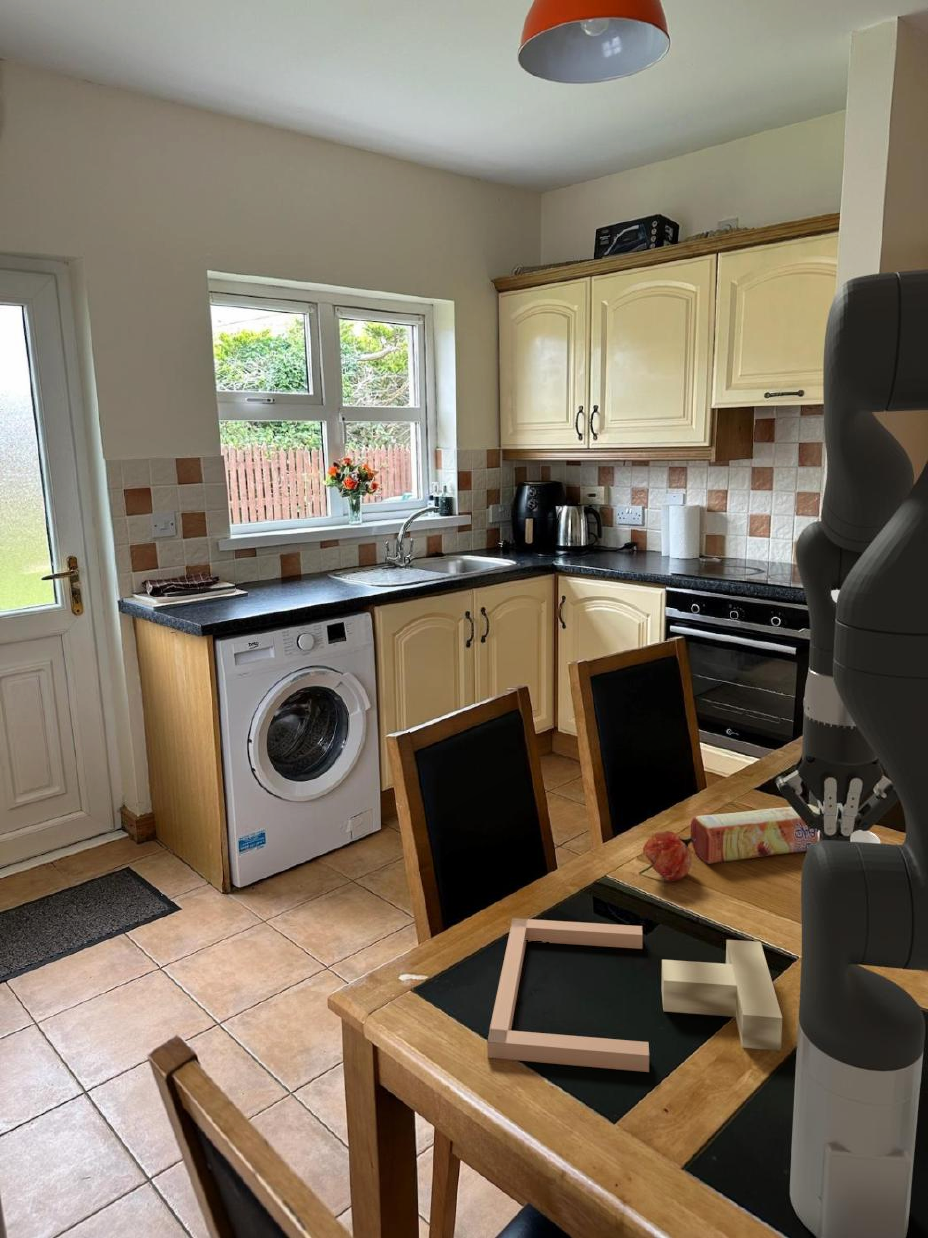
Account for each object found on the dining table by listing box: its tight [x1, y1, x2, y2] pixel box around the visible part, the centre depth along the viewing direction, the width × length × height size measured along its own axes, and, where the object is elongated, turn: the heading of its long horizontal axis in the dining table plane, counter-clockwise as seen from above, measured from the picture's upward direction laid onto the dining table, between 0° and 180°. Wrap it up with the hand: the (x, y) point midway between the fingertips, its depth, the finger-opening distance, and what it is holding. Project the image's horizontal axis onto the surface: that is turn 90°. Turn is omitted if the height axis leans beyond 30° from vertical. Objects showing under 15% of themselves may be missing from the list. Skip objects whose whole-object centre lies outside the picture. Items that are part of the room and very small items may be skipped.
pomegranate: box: [638, 830, 696, 883], centre depth 127 cm, size 7×7×10 cm
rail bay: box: [486, 917, 650, 1073], centre depth 102 cm, size 24×17×2 cm
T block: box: [661, 939, 783, 1052], centre depth 99 cm, size 12×14×4 cm
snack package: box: [690, 803, 819, 865], centre depth 134 cm, size 21×7×7 cm, turn 100°
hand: (833, 862), depth 93 cm, fingers closed
